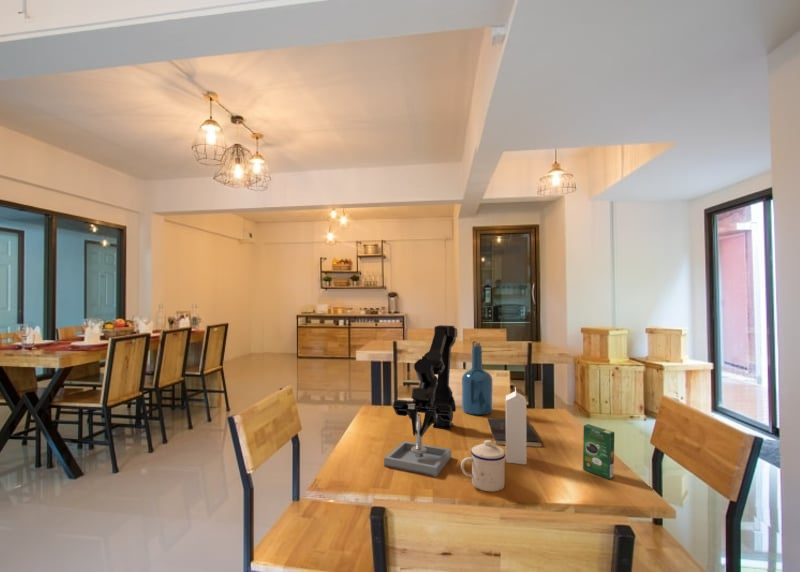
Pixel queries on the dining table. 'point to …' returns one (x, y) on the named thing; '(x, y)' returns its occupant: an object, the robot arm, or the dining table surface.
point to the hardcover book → (500, 432)
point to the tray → (418, 459)
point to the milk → (515, 428)
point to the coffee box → (598, 451)
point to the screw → (418, 440)
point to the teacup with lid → (486, 466)
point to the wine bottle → (477, 386)
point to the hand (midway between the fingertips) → (417, 435)
